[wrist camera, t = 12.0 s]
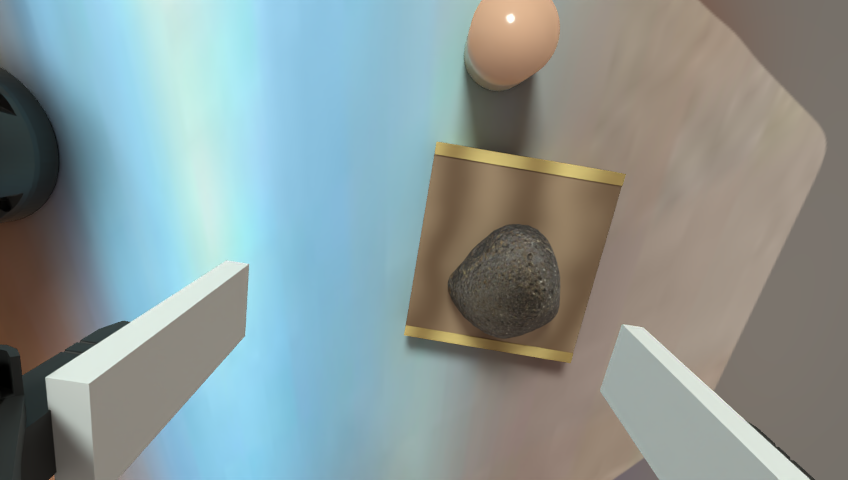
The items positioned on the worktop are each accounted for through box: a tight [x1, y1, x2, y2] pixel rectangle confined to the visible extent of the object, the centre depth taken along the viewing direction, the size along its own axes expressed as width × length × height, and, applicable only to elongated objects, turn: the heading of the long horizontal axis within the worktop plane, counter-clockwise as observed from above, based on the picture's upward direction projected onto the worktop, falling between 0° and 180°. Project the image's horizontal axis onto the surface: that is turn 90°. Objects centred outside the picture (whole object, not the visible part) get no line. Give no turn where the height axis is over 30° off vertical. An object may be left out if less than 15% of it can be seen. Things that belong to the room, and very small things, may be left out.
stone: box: [448, 224, 560, 339], centre depth 34 cm, size 10×8×10 cm
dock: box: [404, 142, 626, 363], centre depth 37 cm, size 16×18×3 cm
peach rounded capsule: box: [464, 0, 560, 91], centre depth 30 cm, size 6×6×7 cm
